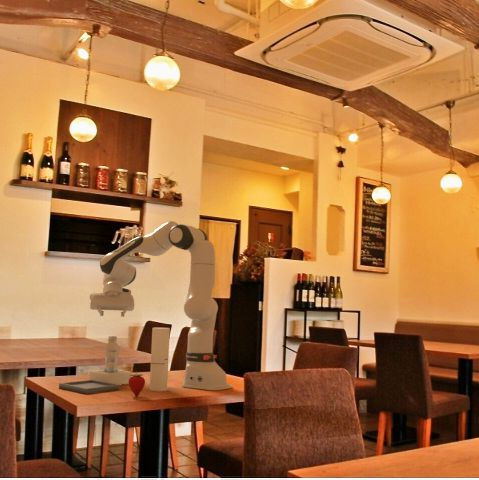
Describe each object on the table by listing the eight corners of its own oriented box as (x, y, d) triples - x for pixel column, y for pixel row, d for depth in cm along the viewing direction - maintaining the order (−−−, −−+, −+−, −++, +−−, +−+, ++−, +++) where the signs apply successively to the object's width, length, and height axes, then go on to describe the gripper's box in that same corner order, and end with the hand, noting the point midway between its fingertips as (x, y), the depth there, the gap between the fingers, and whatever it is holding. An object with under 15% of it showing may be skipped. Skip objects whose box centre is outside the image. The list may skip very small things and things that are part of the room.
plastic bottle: (106, 384, 235) (109, 337, 237) (99, 382, 240) (102, 336, 243) (120, 383, 239) (123, 336, 241) (113, 381, 244) (115, 335, 247)
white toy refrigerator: (170, 389, 228) (173, 328, 230) (158, 391, 222) (161, 328, 224) (157, 387, 232) (160, 327, 234) (145, 389, 226) (148, 327, 228)
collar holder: (130, 383, 241) (131, 371, 241) (107, 386, 231) (108, 374, 232) (112, 380, 249) (113, 368, 249) (89, 382, 239) (90, 371, 239)
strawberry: (133, 398, 205) (134, 371, 206) (124, 395, 211) (126, 368, 212) (147, 397, 208) (148, 370, 210) (138, 394, 215) (140, 368, 216)
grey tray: (119, 389, 224) (119, 384, 224) (86, 394, 211) (86, 388, 211) (91, 384, 235) (92, 379, 235) (58, 388, 222) (59, 383, 223)
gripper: (90, 288, 260) (89, 309, 250) (134, 290, 266) (135, 311, 256) (89, 297, 264) (88, 319, 254) (132, 299, 270) (133, 320, 260)
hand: (112, 315), depth 255 cm, fingers open, 8 cm apart
